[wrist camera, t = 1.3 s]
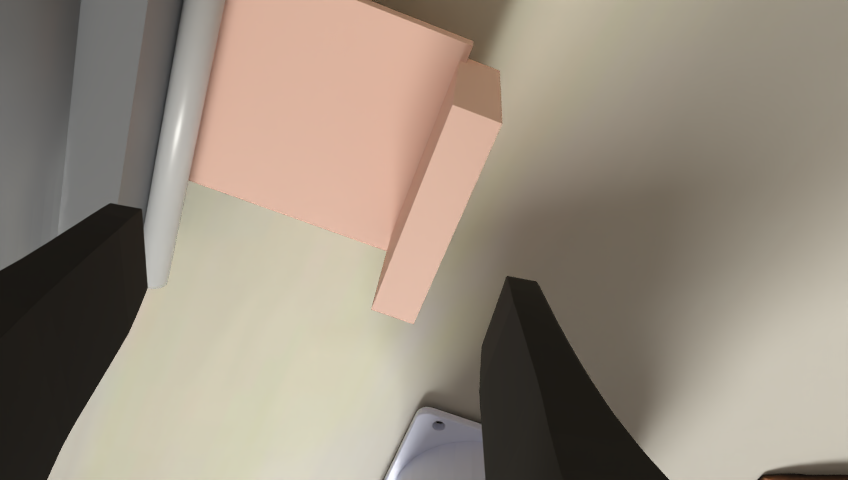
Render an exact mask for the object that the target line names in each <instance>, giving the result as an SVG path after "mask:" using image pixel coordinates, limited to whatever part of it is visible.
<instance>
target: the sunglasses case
mask: <svg viewBox="0 0 848 480" xmlns="http://www.w3.org/2000/svg"><path fill="white" fill-rule="evenodd" d="M759 480H848V475H802V474H781V475H766V476H762V477H761V478H760V479H759Z"/></svg>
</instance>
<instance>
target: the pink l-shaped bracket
mask: <svg viewBox="0 0 848 480" xmlns="http://www.w3.org/2000/svg"><path fill="white" fill-rule="evenodd" d="M472 47H473V41H472V40H469V39H467V38H464V37H462V36H459V35H457V34H454V33H452V32H449V31H446V30H444V29H441V28H439V27H436V26H434V25H431V24H429V23H426V22H424V21H421V20H418V19H416V18H413V17H411V16H408V15H406V14H403V13H401V12H398V11H396V10H393V9H390V8H388V7H385V6H383V5H380V4H378V3H375V2H373V1H370V0H225V4H224V9H223V14H222V19H221V24H220V29H219V34H218V39H217V43H216V48H215V53H214V58H213V63H212V68H211V73H210V78H209V83H208V87H207V92H206V97H205V102H204V107H203V112H202V117H201V122H200V126H199V131H198V136H197V141H196V146H195V151H194V156H193V161H192V165H191V170H190V175H189V181H192V182H195V183H197V184H200V185H203V186H206V187H209V188H211V189H214V190H217V191H220V192H223V193H225V194H228V195H231V196H234V197H237V198H239V199H242V200H245V201H248V202H251V203H253V204H256V205H259V206H262V207H265V208H267V209H270V210H273V211H276V212H279V213H281V214H284V215H287V216H290V217H293V218H295V219H298V220H301V221H304V222H307V223H309V224H312V225H315V226H318V227H321V228H323V229H326V230H329V231H332V232H335V233H338V234H340V235H343V236H346V237H349V238H352V239H354V240H357V241H360V242H363V243H366V244H368V245H371V246H374V247H377V248H380V249H382V250H385V251H387V252H386V256H385V260H384V264H383V267H382V271H381V275H380V279H379V282H378V286H377V290H376V293H375V297H374V301H373V305H372V308H371V310H374V311H377V312H380V313H383V314H386V315H388V316H391V317H394V318H397V319H400V320H403V321H406V322H409V323H411V324H414V322H415V320H416V318H417V315H418V313H419V311H420V309H421V306H422V304H423V302H424V300H425V297H426V295H427V293H428V291H429V288H430V286H431V284H432V282H433V279H434V277H435V275H436V272H437V270H438V268H439V266H440V263H441V261H442V259H443V257H444V254H445V252H446V250H447V248H448V245H449V243H450V241H451V239H452V236H453V234H454V232H455V230H456V227H457V225H458V223H459V220H460V218H461V216H462V214H463V211H464V209H465V207H466V205H467V202H468V200H469V198H470V196H471V193H472V191H473V189H474V187H475V184H476V182H477V180H478V178H479V175H480V173H481V171H482V169H483V166H484V164H485V162H486V159H487V157H488V155H489V153H490V150H491V148H492V146H493V144H494V141H495V139H496V137H497V135H498V132H499V130H500V128H501V126H502V108H501V88H500V71H499V70H497V69H494V68H491V67H489V66H486V65H484V64H481V63H479V62H476V61H474V60H471V59H468V58H469V55H470V52H471V50H472Z"/></svg>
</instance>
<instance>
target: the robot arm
mask: <svg viewBox="0 0 848 480" xmlns="http://www.w3.org/2000/svg"><path fill="white" fill-rule="evenodd" d="M147 288H148V282H147V269H146V255H145V242H144V229H143V215H142V209H140V208H135V207H129V206H124V205H118V204H113V203H109V204H107V205H106V206H104V207H102V208H101V209H99V210H98V211H96V212H94V213H93V214H91V215H90V216H88V217H87V218H85V219H84V220H82V221H80V222H79V223H77V224H76V225H74V226H73V227H71V228H70V229H68V230H66V231H65V232H63V233H62V234H60V235H59V236H57V237H55V238H54V239H52V240H51V241H49V242H48V243H46V244H44V245H43V246H41V247H39V248H38V249H36V250H35V251H33V252H31V253H30V254H28V255H26V256H25V257H23V258H22V259H20V260H18V261H16V262H15V263H13V264H11V265H9V266H7V267H6V268H4V269H2V270H0V480H47V478H48V476H49V474H50V472H51V470H52V467H53V465H54V463H55V461H56V459H57V457H58V455H59V452H60V450H61V448H62V446H63V444H64V442H65V440H66V439H67V437H68V435H69V433H70V431H71V429H72V428H73V426H74V424H75V422H76V421H77V419H78V417H79V416H80V414H81V412H82V411H83V409H84V407H85V406H86V404H87V402H88V401H89V399H90V397H91V396H92V394H93V392H94V391H95V389H96V387H97V386H98V384H99V382H100V381H101V379H102V377H103V376H104V374H105V372H106V371H107V369H108V367H109V366H110V364H111V362H112V361H113V359H114V357H115V355H116V354H117V352H118V350H119V349H120V347H121V345H122V344H123V342H124V340H125V338H126V337H127V335H128V333H129V331H130V329H131V327H132V324H133V322H134V320H135V318H136V315H137V313H138V311H139V308H140V306H141V303H142V301H143V298H144V296H145V293H146V291H147ZM479 394H480V410H481V424H480V423H477V422H474V421H471V420H468V419H465V418H462V417H459V416H456V415H453V414H450V413H447V412H444V411H441V410H438V409H435V408H432V407H422V408H420V409H419V410H418V411H417V412H416V414H415V416H414V418H413V420H412V422H411V424H410V427H409V429H408V431H407V433H406V435H405V437H404V439H403V441H402V443H401V445H400V447H399V449H398V451H397V453H396V455H395V457H394V460H393V462H392V464H391V466H390V468H389V470H388V472H387V474H386V476H385V478H384V480H669V479H668V478H667V477H666V476H665V475H664V474H663V472H662V471H661V470H660V469H659V468H658V467H657V466H656V465H655V464H654V463H653V462H652V460H651V459H650V458H649V457H648V456H647V455H646V454H645V452H644V451H643V450H642V449H641V448H640V447H639V445H638V444H637V443H636V442H635V440H634V439H633V438H632V437H631V435H630V434H629V433H628V431H627V430H626V429H625V428H624V426H623V425H622V424H621V423H620V421H619V420H618V419H617V417H616V416H615V415H614V413H613V412H612V411H611V409H610V408H609V406H608V405H607V403H606V402H605V400H604V399H603V397H602V396H601V394H600V393H599V391H598V390H597V388H596V387H595V385H594V384H593V382H592V381H591V379H590V378H589V376H588V374H587V373H586V371H585V370H584V368H583V366H582V364H581V363H580V361H579V359H578V358H577V356H576V354H575V352H574V351H573V349H572V347H571V346H570V344H569V342H568V340H567V338H566V337H565V335H564V333H563V331H562V329H561V327H560V325H559V324H558V322H557V320H556V318H555V316H554V314H553V312H552V310H551V308H550V306H549V304H548V302H547V300H546V298H545V296H544V294H543V292H542V290H541V288H540V286H539V285H538V283H537V282H536V281H531V280H525V279H520V278H514V277H509V276H507V277H506V280H505V282H504V285H503V288H502V291H501V294H500V297H499V299H498V302H497V305H496V308H495V311H494V313H493V316H492V319H491V322H490V325H489V328H488V330H487V333H486V336H485V339H484V342H483V344H482V352H481V368H480V388H479ZM436 421H441V422H443V423H442V424H438V423H435V422H436Z"/></svg>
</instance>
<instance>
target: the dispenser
mask: <svg viewBox="0 0 848 480" xmlns="http://www.w3.org/2000/svg"><path fill="white" fill-rule="evenodd" d="M224 4H225V0H0V270H2V269H4V268H6V267H7V266H9V265H11V264H13V263H15V262H16V261H18V260H20V259H22V258H23V257H25V256H26V255H28V254H30V253H31V252H33V251H35V250H36V249H38V248H39V247H41V246H43V245H44V244H46V243H48V242H49V241H51V240H52V239H54V238H55V237H57V236H59V235H60V234H62V233H63V232H65V231H66V230H68V229H70V228H71V227H73V226H74V225H76V224H77V223H79V222H80V221H82V220H84V219H85V218H87V217H88V216H90V215H91V214H93V213H94V212H96V211H98V210H99V209H101V208H102V207H104V206H106V205H107V204H109V203H113V204H118V205H124V206H129V207H135V208H140V209H142V215H143V229H144V242H145V255H146V269H147V282H148V288H151V289H156V288H161V287H163V286H165V285H166V284H167V282H168V278H169V273H170V268H171V263H172V258H173V253H174V248H175V244H176V239H177V234H178V229H179V224H180V219H181V214H182V209H183V204H184V200H185V195H186V190H187V185H188V180H189V175H190V170H191V165H192V161H193V156H194V151H195V146H196V141H197V136H198V131H199V126H200V122H201V117H202V112H203V107H204V102H205V97H206V92H207V87H208V83H209V78H210V73H211V68H212V63H213V58H214V53H215V48H216V43H217V39H218V34H219V29H220V24H221V19H222V14H223V9H224Z"/></svg>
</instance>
